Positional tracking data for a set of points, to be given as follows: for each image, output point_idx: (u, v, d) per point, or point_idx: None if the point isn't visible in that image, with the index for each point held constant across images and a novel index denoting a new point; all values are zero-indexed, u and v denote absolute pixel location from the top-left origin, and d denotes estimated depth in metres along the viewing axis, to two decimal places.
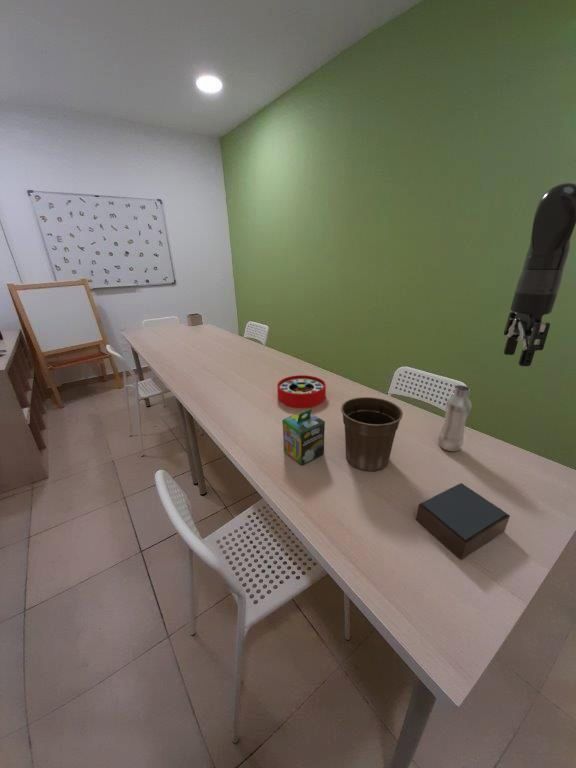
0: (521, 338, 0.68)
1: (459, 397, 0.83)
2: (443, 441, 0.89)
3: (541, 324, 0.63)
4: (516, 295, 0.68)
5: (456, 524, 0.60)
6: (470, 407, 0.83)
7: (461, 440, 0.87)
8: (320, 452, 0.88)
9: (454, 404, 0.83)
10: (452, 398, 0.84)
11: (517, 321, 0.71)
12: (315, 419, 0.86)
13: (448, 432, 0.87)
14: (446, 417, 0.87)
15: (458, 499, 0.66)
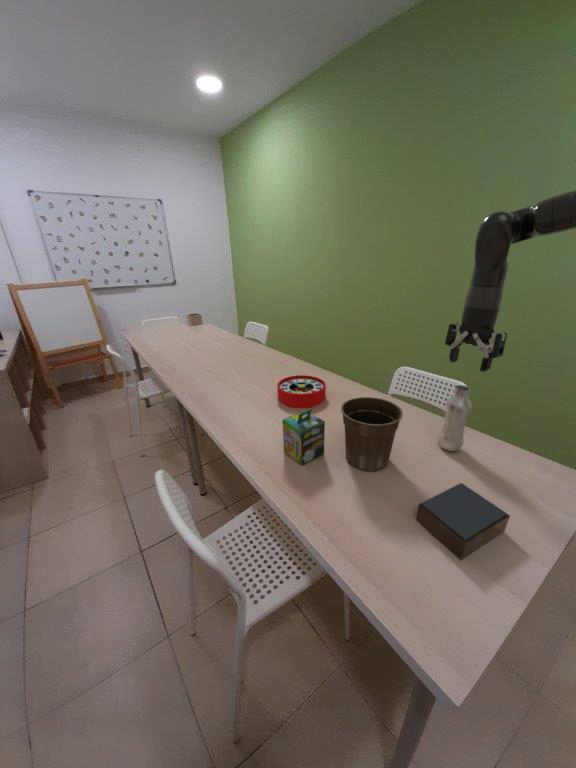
0: (481, 348, 0.75)
1: (459, 397, 0.83)
2: (443, 441, 0.89)
3: (502, 334, 0.71)
4: (472, 310, 0.73)
5: (456, 524, 0.60)
6: (470, 407, 0.83)
7: (461, 440, 0.87)
8: (320, 452, 0.88)
9: (454, 404, 0.83)
10: (452, 398, 0.84)
11: (468, 332, 0.77)
12: (315, 419, 0.86)
13: (448, 432, 0.87)
14: (446, 417, 0.87)
15: (458, 499, 0.66)
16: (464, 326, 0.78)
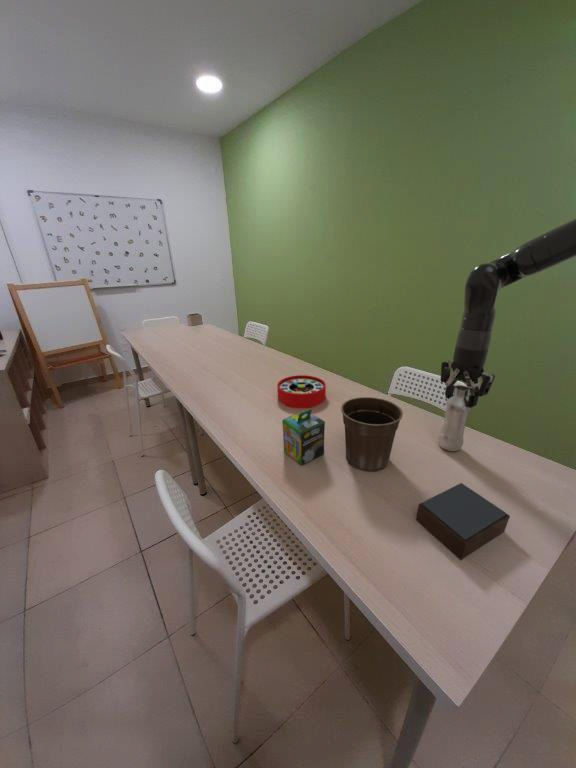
0: (469, 386, 0.79)
1: (459, 397, 0.83)
2: (443, 441, 0.89)
3: (490, 377, 0.75)
4: (463, 351, 0.77)
5: (456, 524, 0.60)
6: None
7: (461, 440, 0.87)
8: (320, 452, 0.88)
9: (454, 404, 0.83)
10: (452, 398, 0.84)
11: (460, 370, 0.81)
12: (315, 419, 0.86)
13: (448, 431, 0.87)
14: (446, 417, 0.87)
15: (458, 499, 0.66)
16: (455, 363, 0.82)
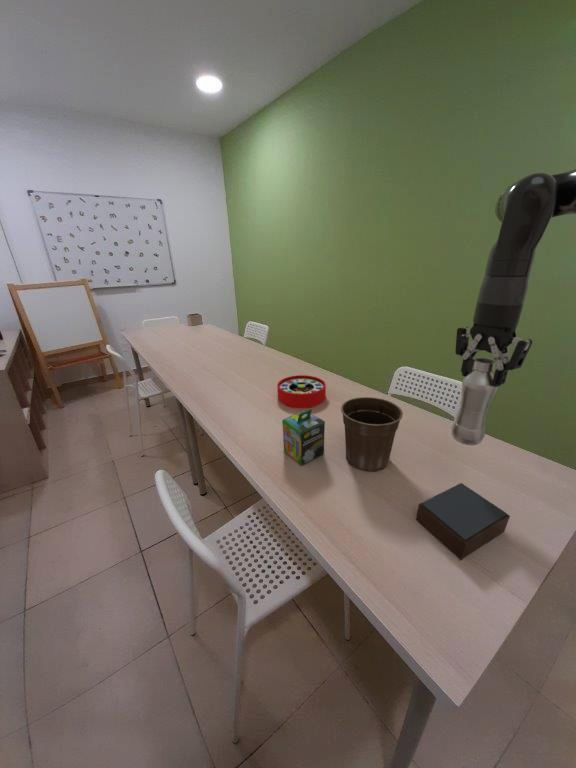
0: (495, 357, 0.59)
1: (480, 373, 0.62)
2: (458, 432, 0.68)
3: (527, 342, 0.55)
4: (488, 307, 0.56)
5: (456, 524, 0.60)
6: None
7: (482, 431, 0.66)
8: (320, 452, 0.88)
9: (474, 382, 0.63)
10: (471, 375, 0.64)
11: (482, 336, 0.60)
12: (315, 419, 0.86)
13: (465, 420, 0.67)
14: (462, 401, 0.66)
15: (458, 499, 0.66)
16: (476, 327, 0.62)
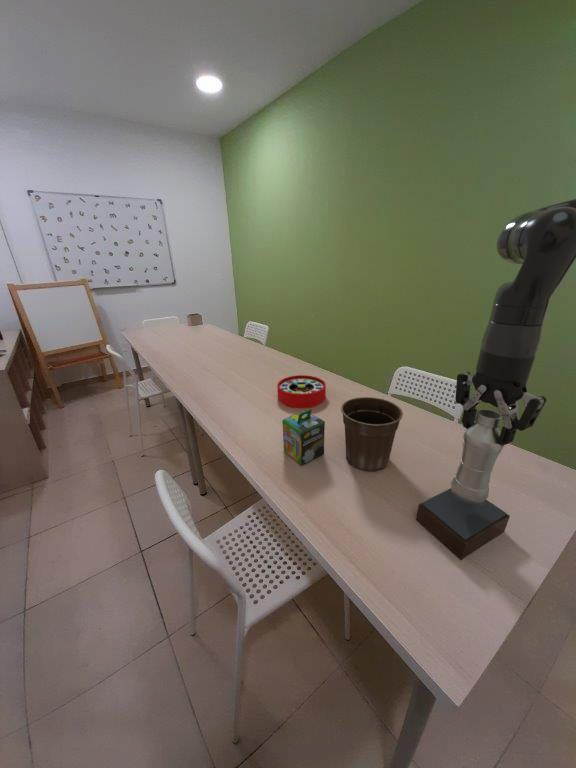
0: (502, 413, 0.51)
1: (485, 428, 0.54)
2: (459, 490, 0.60)
3: (540, 401, 0.46)
4: (494, 358, 0.48)
5: (456, 524, 0.60)
6: None
7: (486, 490, 0.58)
8: (320, 452, 0.88)
9: (477, 439, 0.55)
10: (473, 429, 0.56)
11: (487, 387, 0.52)
12: (315, 419, 0.86)
13: (467, 478, 0.58)
14: (464, 456, 0.58)
15: None
16: (479, 376, 0.53)
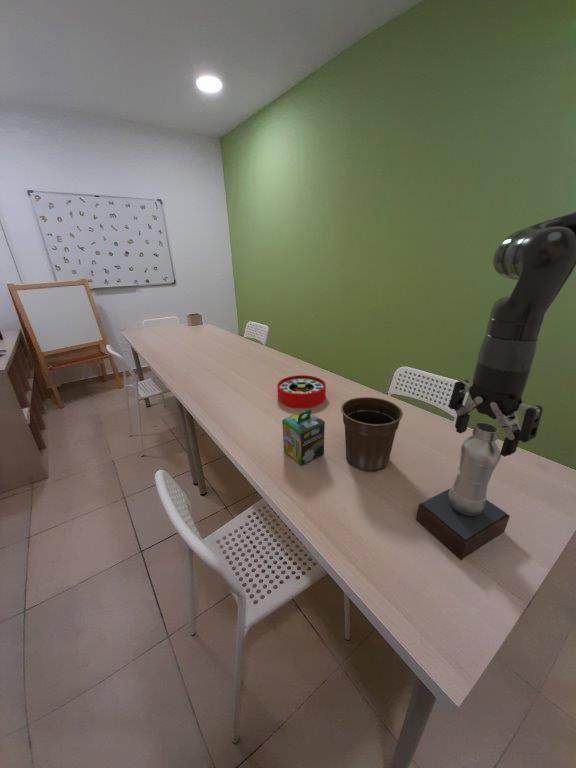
0: (502, 424, 0.51)
1: (482, 441, 0.55)
2: (457, 501, 0.61)
3: (536, 410, 0.47)
4: (490, 371, 0.49)
5: (456, 524, 0.60)
6: (498, 457, 0.55)
7: (483, 501, 0.59)
8: (320, 452, 0.88)
9: (474, 451, 0.56)
10: (471, 442, 0.57)
11: (483, 399, 0.53)
12: (315, 419, 0.86)
13: (464, 489, 0.59)
14: (461, 468, 0.59)
15: None
16: (477, 388, 0.54)
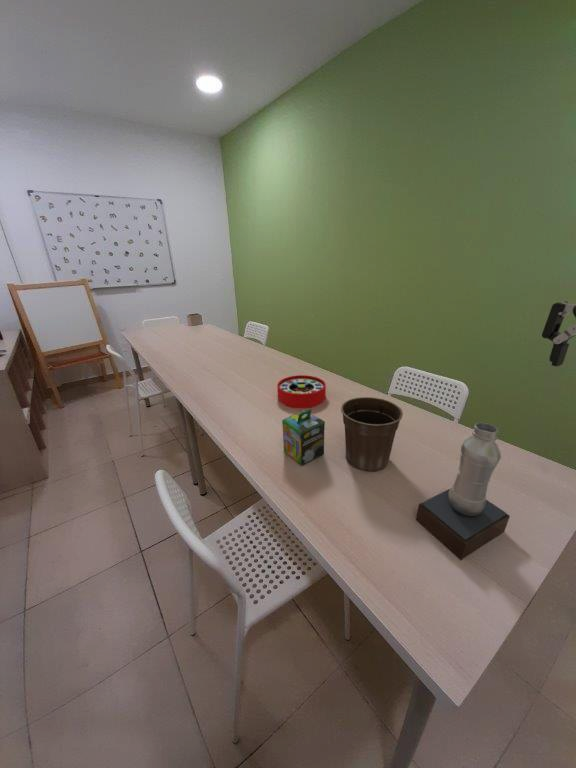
0: None
1: (482, 441, 0.55)
2: (457, 501, 0.61)
3: None
4: None
5: (456, 524, 0.60)
6: (498, 457, 0.55)
7: (483, 501, 0.59)
8: (320, 452, 0.88)
9: (474, 452, 0.56)
10: (471, 442, 0.57)
11: None
12: (315, 419, 0.86)
13: (464, 489, 0.59)
14: (461, 468, 0.59)
15: None
16: None
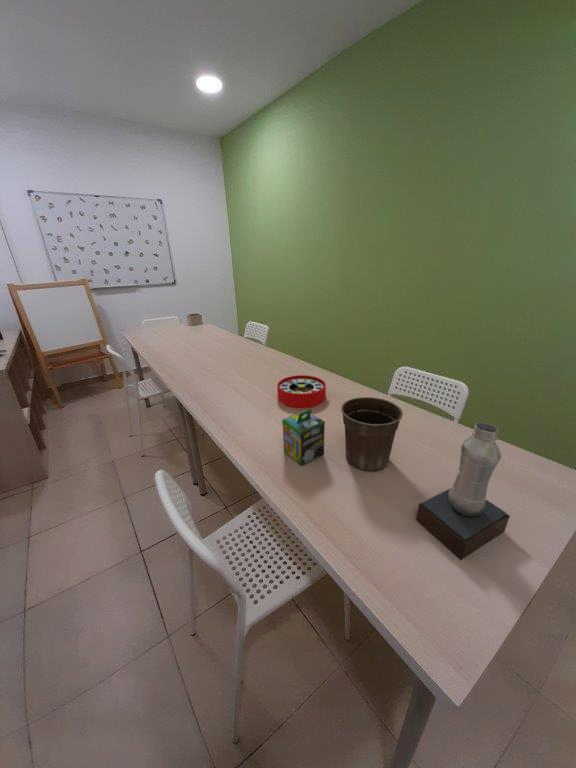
0: None
1: (482, 441, 0.55)
2: (457, 501, 0.61)
3: None
4: None
5: (456, 524, 0.60)
6: (498, 457, 0.55)
7: (483, 501, 0.59)
8: (320, 452, 0.88)
9: (474, 452, 0.56)
10: (471, 442, 0.57)
11: None
12: (315, 419, 0.86)
13: (464, 489, 0.59)
14: (461, 468, 0.59)
15: None
16: None
